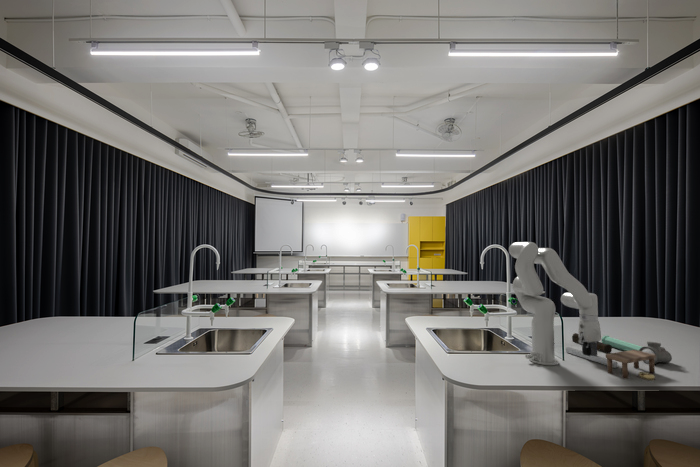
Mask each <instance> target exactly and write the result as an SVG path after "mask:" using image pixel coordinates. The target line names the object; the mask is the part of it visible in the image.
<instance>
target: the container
mask: <svg viewBox="0 0 700 467" xmlns="http://www.w3.org/2000/svg"><path fill="white" fill-rule="evenodd" d="M601 343H604V344H609V345H611V346H612V348H614V349H617V350H620V351H622V352H623V351H629V350H638V351H639V350H640V348H641V347H642V346H641V345H637V344H635V343H631V342H628V341H624V340H621V339H617V338H614V337H611V336H610V335H603V336H601Z"/></svg>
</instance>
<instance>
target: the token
mask: <svg viewBox="0 0 700 467" xmlns="http://www.w3.org/2000/svg"><path fill="white" fill-rule="evenodd" d="M638 377H639V378H641V379H642V380H647V381H655V380H656V379H655V378H656V376H655V374H654V373H650V372H646V371H639V372H638Z"/></svg>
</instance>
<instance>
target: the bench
mask: <svg viewBox="0 0 700 467" xmlns="http://www.w3.org/2000/svg"><path fill="white" fill-rule="evenodd" d="M605 358H606V359H607V365H606V367H607V373H608V374H610V375H611V374H613V373H614V372H613V370H614V369H613V366H612V360H613V361H616V362H617V363H618V362H619V363H621V371H622V372H621V375H622V378H623V379H626V380H627V379H628V378H629V375H628V374H629V372H628V370H629V368H628V365H629V364H631V363H633V368H634V369H637V368H639V369H640V362H643V361H644V360H649V364H648V370H649V371H648V373H651V374H655V364H654V359H655V355H654V354H650V353H646V352H642V351H638V350H629V351H623V350H622V351H618V352H611V353H605Z"/></svg>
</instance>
